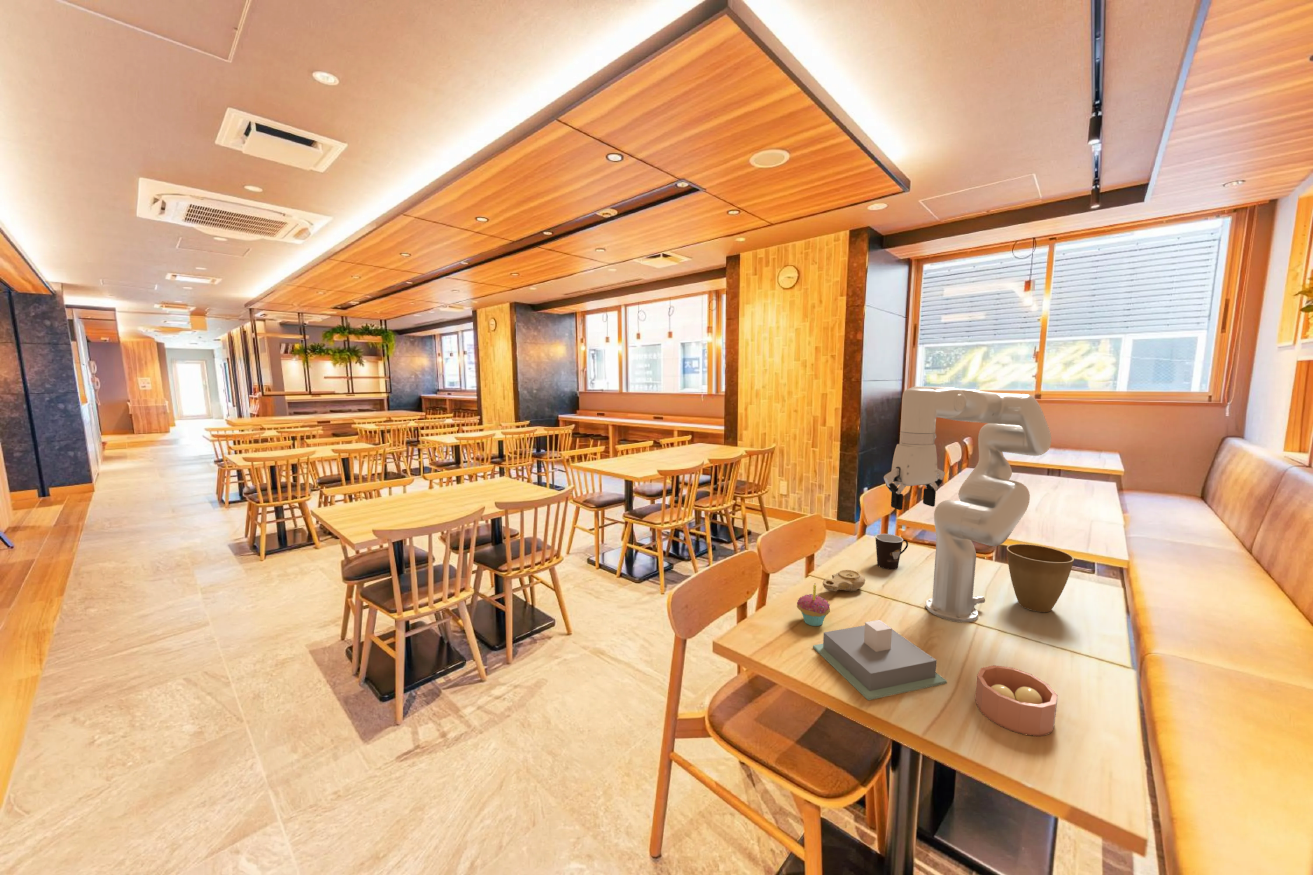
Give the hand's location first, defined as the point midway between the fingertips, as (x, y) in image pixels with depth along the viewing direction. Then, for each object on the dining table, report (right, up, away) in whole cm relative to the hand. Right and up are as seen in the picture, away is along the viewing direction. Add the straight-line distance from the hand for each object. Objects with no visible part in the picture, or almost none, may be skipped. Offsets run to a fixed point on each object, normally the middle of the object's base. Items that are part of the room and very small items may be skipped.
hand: (912, 506), depth 122 cm
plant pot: (+44, -31, +17) cm, 56 cm away
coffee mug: (+17, -27, +46) cm, 56 cm away
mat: (-13, -35, -9) cm, 39 cm away
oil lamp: (-6, -30, +29) cm, 42 cm away
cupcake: (-22, -33, +10) cm, 41 cm away
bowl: (+6, -37, -26) cm, 46 cm away
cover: (-13, -35, -9) cm, 38 cm away
